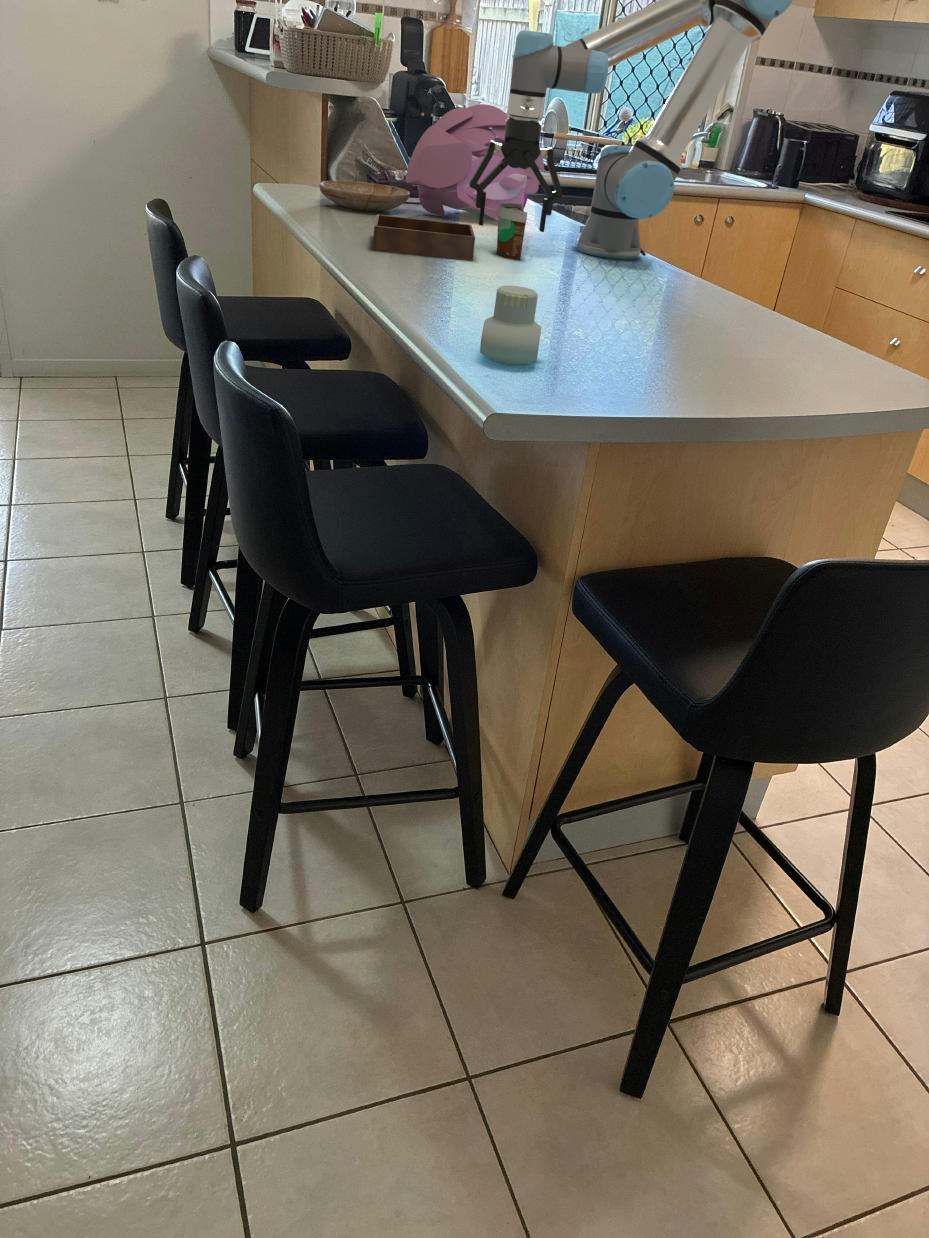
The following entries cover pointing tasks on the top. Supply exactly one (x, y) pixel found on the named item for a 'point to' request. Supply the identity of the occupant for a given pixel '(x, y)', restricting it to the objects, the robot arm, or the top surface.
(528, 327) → the air freshener
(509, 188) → the flower arrangement
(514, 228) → the food container
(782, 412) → the top surface
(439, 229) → the wooden tray
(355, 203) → the wooden bowl
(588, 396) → the top surface
